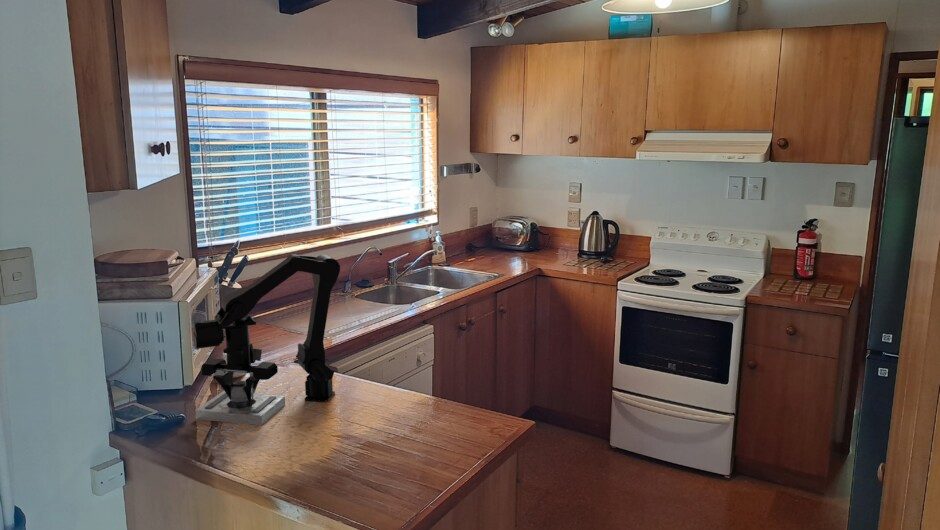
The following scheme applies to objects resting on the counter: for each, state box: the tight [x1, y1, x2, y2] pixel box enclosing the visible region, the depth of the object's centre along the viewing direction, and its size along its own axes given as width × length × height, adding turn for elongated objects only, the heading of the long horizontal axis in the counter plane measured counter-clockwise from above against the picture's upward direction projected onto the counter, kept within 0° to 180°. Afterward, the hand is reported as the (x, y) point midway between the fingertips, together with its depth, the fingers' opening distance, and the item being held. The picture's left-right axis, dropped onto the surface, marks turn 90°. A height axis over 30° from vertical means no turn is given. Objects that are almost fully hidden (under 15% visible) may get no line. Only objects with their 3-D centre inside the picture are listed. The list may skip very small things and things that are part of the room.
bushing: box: [230, 380, 252, 409], centre depth 176 cm, size 5×5×6 cm
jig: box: [195, 390, 286, 426], centre depth 176 cm, size 18×13×3 cm
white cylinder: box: [222, 351, 247, 378], centre depth 203 cm, size 7×7×7 cm
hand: (241, 400), depth 176 cm, fingers closed on bushing, 5 cm apart
